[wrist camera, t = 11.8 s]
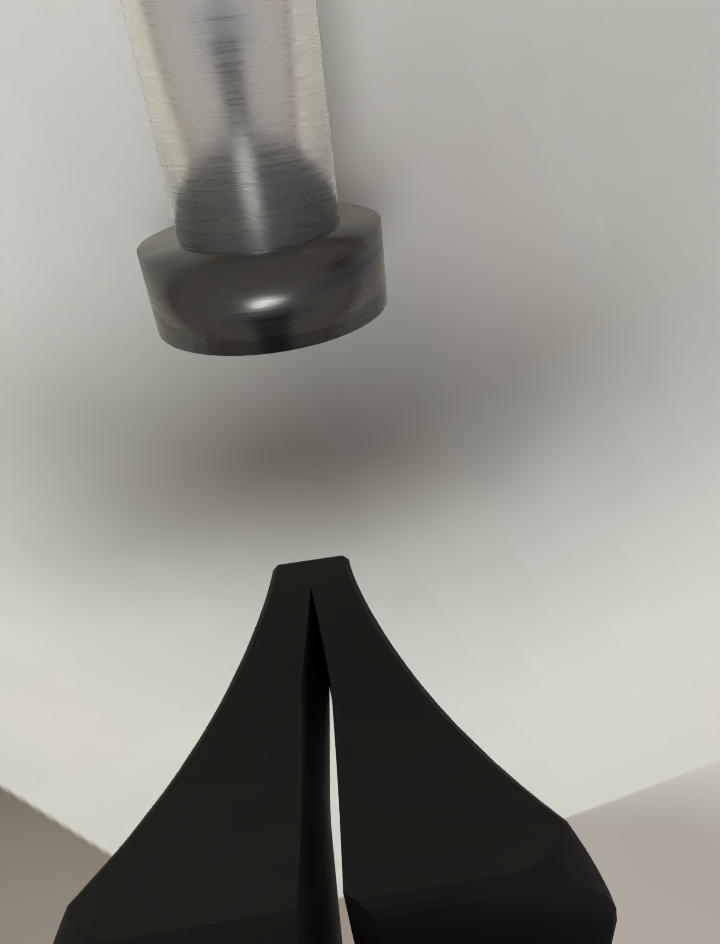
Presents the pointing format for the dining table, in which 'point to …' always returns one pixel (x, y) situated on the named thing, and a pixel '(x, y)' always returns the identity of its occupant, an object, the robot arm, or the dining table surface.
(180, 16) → the shaft
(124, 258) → the dining table surface
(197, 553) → the dining table surface
